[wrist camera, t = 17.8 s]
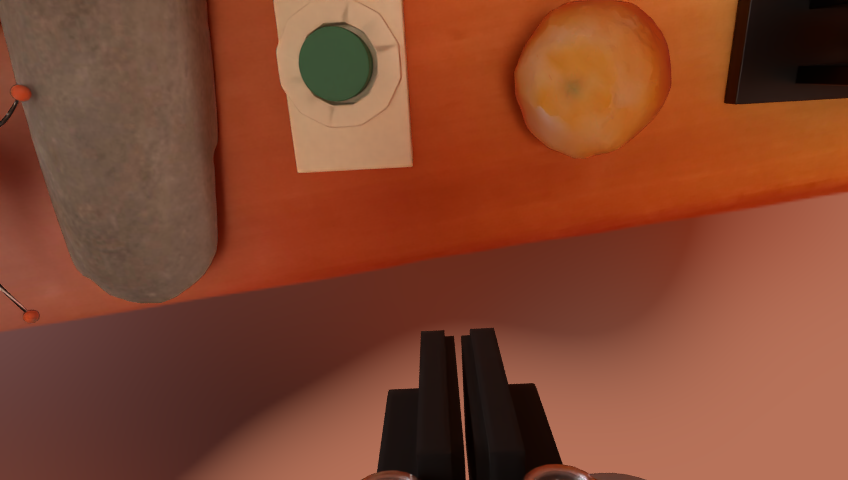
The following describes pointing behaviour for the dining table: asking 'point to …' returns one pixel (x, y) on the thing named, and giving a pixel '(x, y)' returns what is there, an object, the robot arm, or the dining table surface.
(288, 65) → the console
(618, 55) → the fruit
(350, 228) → the dining table surface
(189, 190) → the stone
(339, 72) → the button
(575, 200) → the dining table surface
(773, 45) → the bracket
